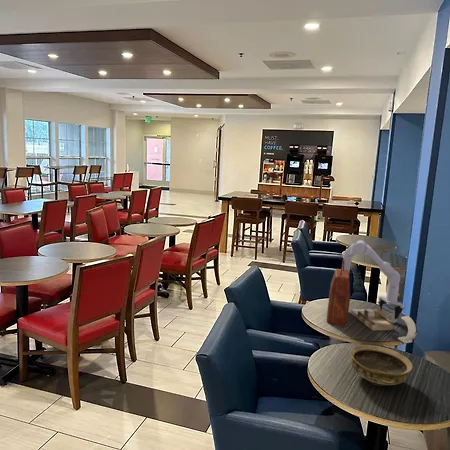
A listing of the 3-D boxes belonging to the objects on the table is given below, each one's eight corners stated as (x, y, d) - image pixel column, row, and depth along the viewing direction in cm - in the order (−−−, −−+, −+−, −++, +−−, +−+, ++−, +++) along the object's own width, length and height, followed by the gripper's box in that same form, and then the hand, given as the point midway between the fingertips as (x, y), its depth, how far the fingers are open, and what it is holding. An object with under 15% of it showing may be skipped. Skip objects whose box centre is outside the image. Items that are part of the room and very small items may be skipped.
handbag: (326, 324, 221) (334, 262, 214) (327, 311, 239) (334, 253, 233) (346, 327, 218) (354, 265, 212) (345, 314, 237) (353, 256, 230)
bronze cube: (371, 315, 229) (372, 308, 228) (377, 315, 230) (378, 308, 229) (374, 318, 225) (375, 311, 224) (381, 318, 226) (382, 311, 225)
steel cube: (363, 315, 228) (364, 308, 227) (370, 315, 229) (371, 308, 228) (367, 318, 224) (368, 311, 223) (373, 318, 225) (374, 311, 224)
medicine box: (380, 318, 234) (382, 304, 232) (384, 317, 236) (386, 303, 235) (392, 323, 227) (394, 308, 226) (397, 322, 230) (399, 307, 229)
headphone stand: (404, 337, 209) (407, 315, 207) (413, 343, 204) (417, 320, 202) (397, 339, 207) (401, 316, 205) (407, 344, 202) (411, 321, 200)
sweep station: (350, 312, 239) (351, 306, 238) (368, 312, 242) (369, 306, 241) (372, 330, 216) (373, 322, 215) (392, 330, 218) (393, 322, 218)
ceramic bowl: (418, 407, 149) (422, 382, 147) (351, 396, 153) (354, 371, 151) (399, 367, 178) (402, 345, 176) (343, 358, 182) (345, 337, 180)
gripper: (377, 290, 233) (374, 312, 235) (400, 298, 221) (397, 321, 224) (384, 288, 237) (381, 310, 239) (407, 296, 225) (404, 319, 228)
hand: (389, 316), depth 232 cm, fingers closed on medicine box, 7 cm apart
